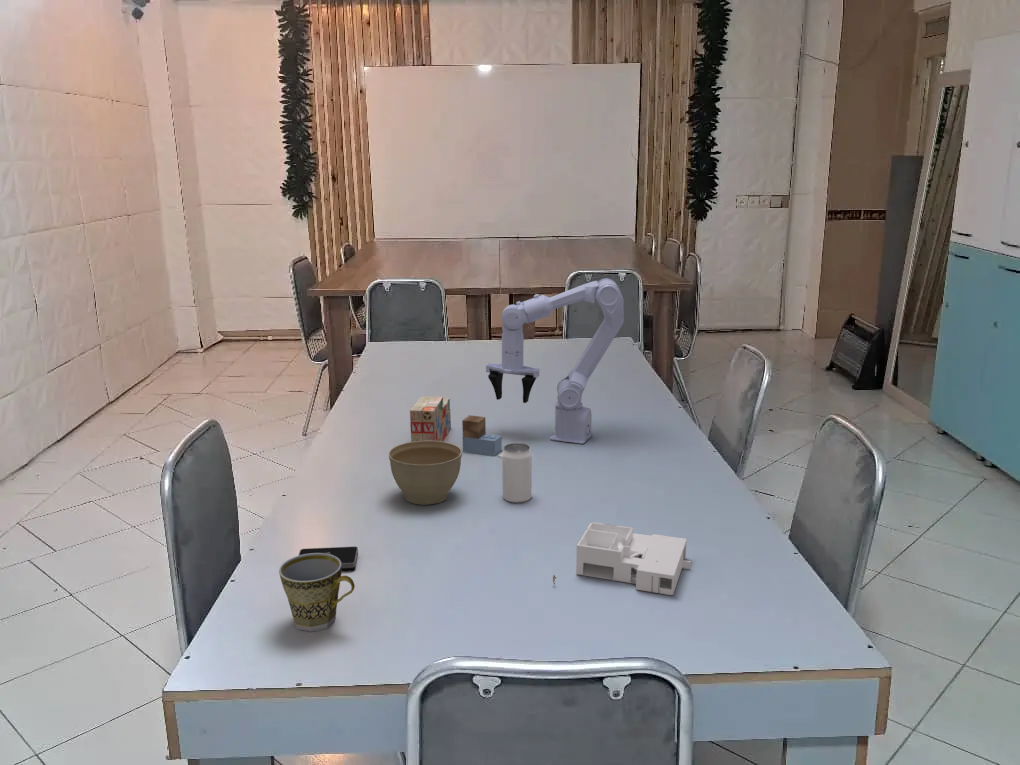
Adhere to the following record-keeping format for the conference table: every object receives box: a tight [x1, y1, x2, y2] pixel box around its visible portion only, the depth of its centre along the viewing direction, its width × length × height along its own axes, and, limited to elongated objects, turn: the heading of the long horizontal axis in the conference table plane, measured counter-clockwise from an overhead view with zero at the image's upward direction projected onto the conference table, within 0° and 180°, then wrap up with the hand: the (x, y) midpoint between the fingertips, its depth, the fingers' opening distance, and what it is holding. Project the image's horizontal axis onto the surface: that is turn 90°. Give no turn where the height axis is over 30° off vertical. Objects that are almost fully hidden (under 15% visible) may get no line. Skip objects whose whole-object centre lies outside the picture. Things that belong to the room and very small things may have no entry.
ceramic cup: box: [278, 553, 356, 633], centre depth 139 cm, size 13×10×10 cm
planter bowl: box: [388, 441, 463, 506], centre depth 189 cm, size 16×16×11 cm
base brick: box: [462, 433, 503, 457], centre depth 219 cm, size 9×4×4 cm, turn 68°
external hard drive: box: [297, 546, 359, 572], centre depth 160 cm, size 7×11×2 cm, turn 95°
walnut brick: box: [461, 414, 487, 439], centre depth 219 cm, size 4×4×4 cm
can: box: [501, 442, 533, 504], centre depth 188 cm, size 6×6×12 cm
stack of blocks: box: [409, 395, 452, 442], centre depth 225 cm, size 21×6×12 cm, turn 173°
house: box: [552, 521, 692, 596], centre depth 156 cm, size 22×18×6 cm
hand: (512, 400), depth 227 cm, fingers open, 7 cm apart
